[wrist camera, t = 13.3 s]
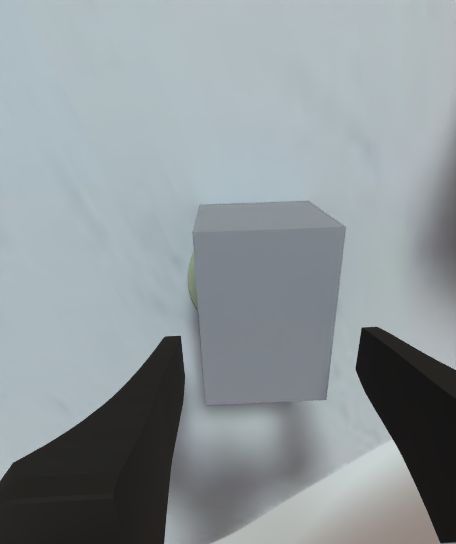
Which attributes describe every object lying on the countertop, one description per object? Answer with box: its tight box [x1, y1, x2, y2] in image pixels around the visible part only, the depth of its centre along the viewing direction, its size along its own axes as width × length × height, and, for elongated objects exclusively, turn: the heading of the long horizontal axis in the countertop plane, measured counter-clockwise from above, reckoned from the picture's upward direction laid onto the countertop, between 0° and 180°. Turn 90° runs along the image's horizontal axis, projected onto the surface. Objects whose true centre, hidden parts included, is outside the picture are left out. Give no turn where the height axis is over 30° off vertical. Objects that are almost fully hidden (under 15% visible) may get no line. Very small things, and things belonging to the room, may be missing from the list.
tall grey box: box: [193, 201, 346, 405], centre depth 17 cm, size 9×6×6 cm
